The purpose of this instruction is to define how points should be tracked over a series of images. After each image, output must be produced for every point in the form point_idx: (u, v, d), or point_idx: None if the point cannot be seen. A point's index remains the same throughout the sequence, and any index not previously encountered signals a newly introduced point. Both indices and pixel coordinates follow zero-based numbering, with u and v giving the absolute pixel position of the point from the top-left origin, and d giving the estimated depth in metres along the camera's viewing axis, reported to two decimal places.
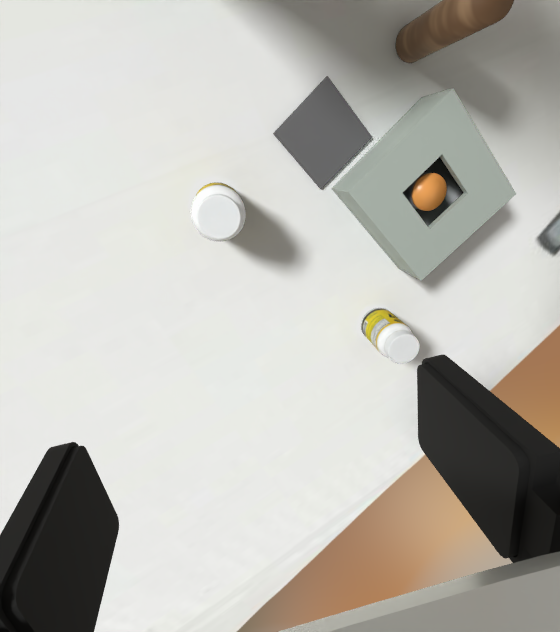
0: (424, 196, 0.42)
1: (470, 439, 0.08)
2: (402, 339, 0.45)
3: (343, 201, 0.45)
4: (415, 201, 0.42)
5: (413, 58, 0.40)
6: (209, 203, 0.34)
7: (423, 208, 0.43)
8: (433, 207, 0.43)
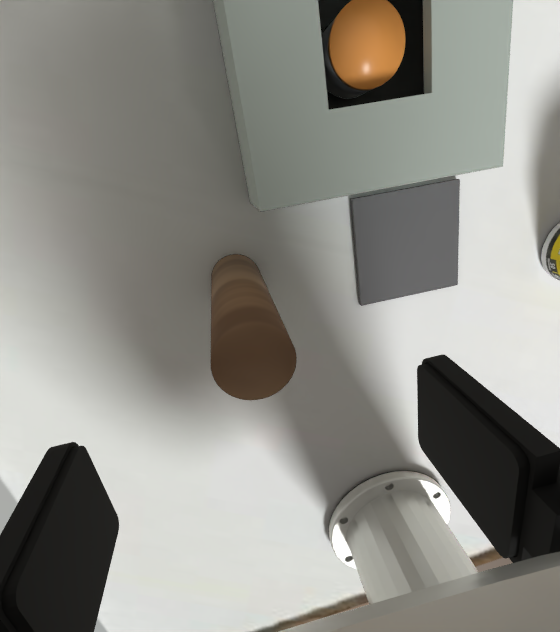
0: (381, 43, 0.19)
1: (470, 439, 0.08)
2: None
3: None
4: (402, 48, 0.20)
5: (255, 266, 0.26)
6: None
7: (396, 18, 0.19)
8: (378, 1, 0.19)
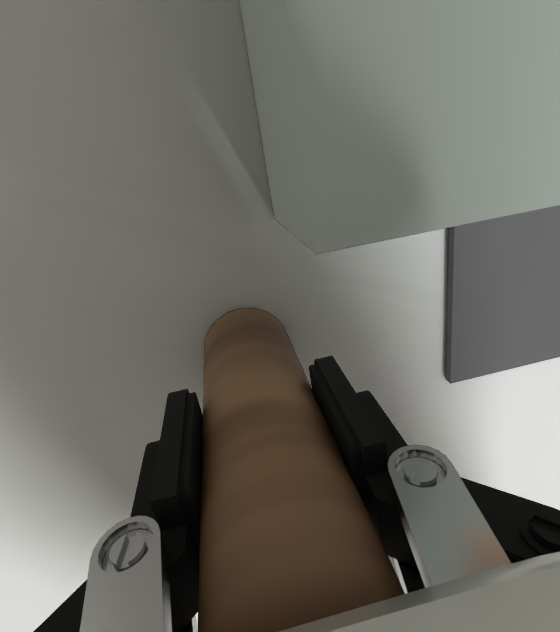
0: None
1: (334, 432, 0.09)
2: None
3: None
4: None
5: (284, 335, 0.14)
6: None
7: None
8: None
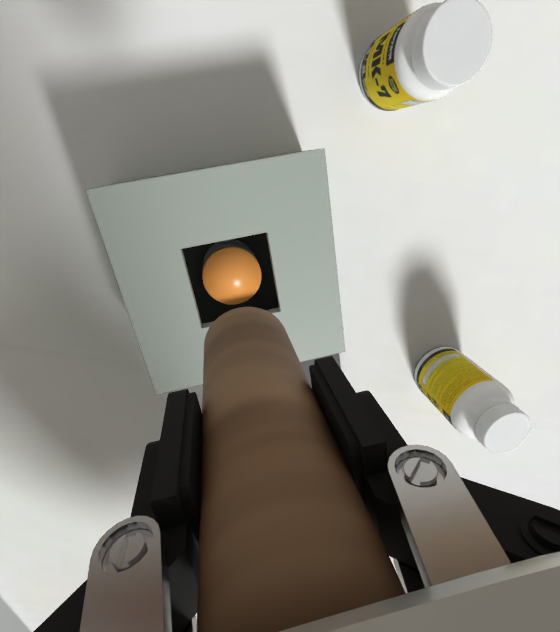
0: (243, 276, 0.26)
1: (334, 433, 0.09)
2: (446, 71, 0.20)
3: None
4: (259, 277, 0.26)
5: (283, 334, 0.14)
6: (502, 449, 0.30)
7: (252, 259, 0.26)
8: (236, 251, 0.25)
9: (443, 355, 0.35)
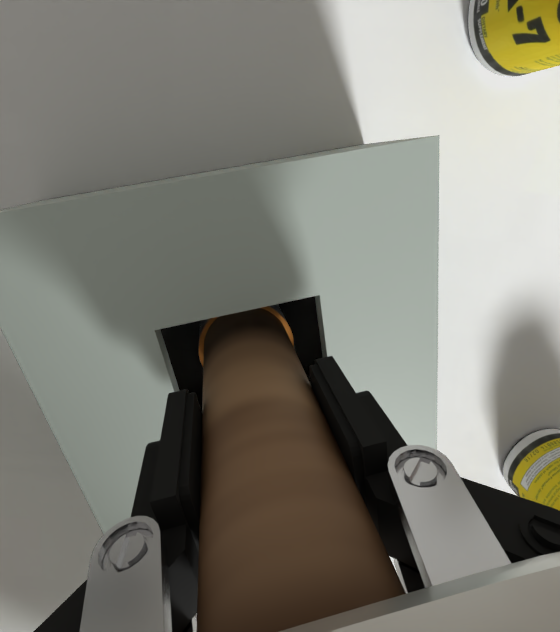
0: None
1: (334, 433, 0.09)
2: None
3: None
4: None
5: (283, 333, 0.14)
6: None
7: None
8: None
9: (554, 447, 0.24)
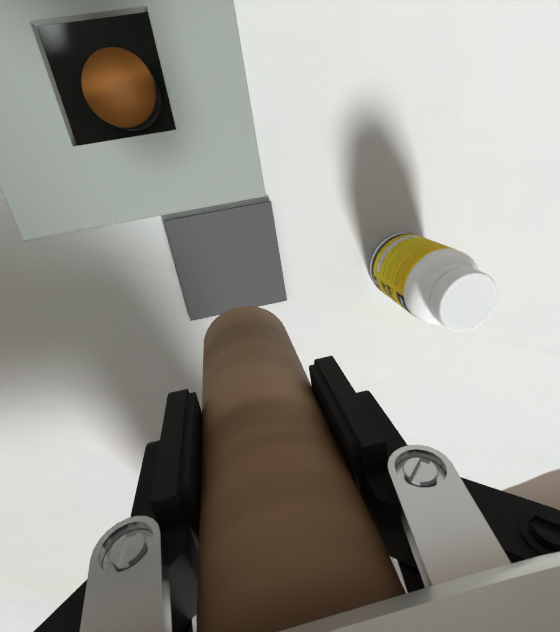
0: (132, 88, 0.22)
1: (334, 433, 0.09)
2: None
3: None
4: (152, 91, 0.22)
5: (284, 333, 0.14)
6: (463, 324, 0.24)
7: (142, 66, 0.22)
8: (120, 52, 0.21)
9: (400, 237, 0.30)
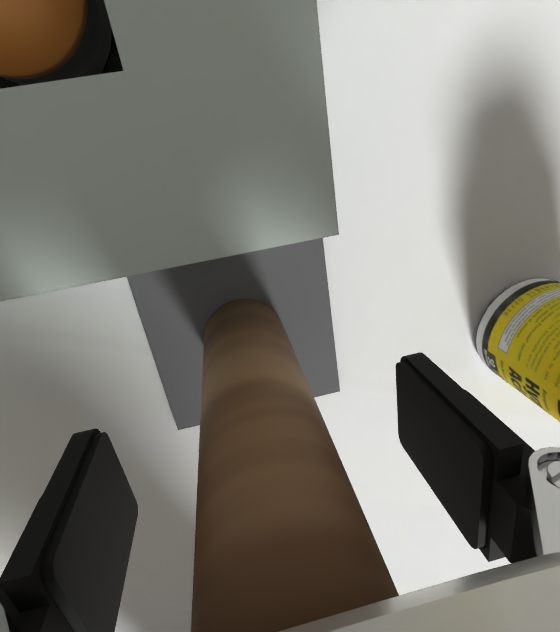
0: None
1: (442, 434, 0.09)
2: None
3: None
4: None
5: (279, 324, 0.15)
6: None
7: None
8: None
9: (544, 291, 0.17)
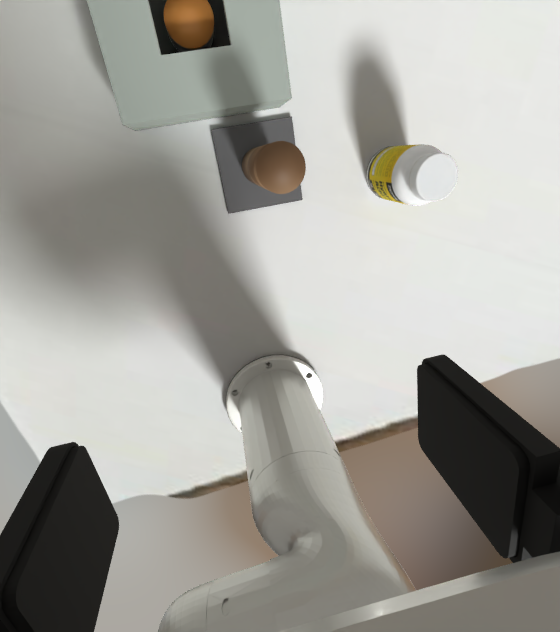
0: (198, 18, 0.31)
1: (470, 439, 0.08)
2: None
3: None
4: (212, 21, 0.31)
5: None
6: (433, 195, 0.33)
7: (205, 2, 0.31)
8: None
9: (390, 147, 0.39)
